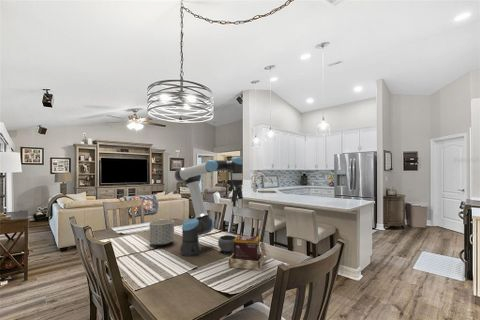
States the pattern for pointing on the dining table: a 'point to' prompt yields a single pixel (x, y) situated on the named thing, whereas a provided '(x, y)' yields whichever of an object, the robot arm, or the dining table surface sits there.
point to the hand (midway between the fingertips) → (237, 209)
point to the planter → (161, 232)
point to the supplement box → (246, 248)
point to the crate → (246, 262)
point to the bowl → (226, 243)
